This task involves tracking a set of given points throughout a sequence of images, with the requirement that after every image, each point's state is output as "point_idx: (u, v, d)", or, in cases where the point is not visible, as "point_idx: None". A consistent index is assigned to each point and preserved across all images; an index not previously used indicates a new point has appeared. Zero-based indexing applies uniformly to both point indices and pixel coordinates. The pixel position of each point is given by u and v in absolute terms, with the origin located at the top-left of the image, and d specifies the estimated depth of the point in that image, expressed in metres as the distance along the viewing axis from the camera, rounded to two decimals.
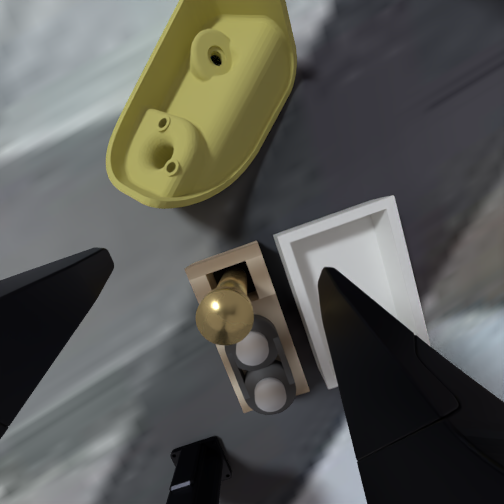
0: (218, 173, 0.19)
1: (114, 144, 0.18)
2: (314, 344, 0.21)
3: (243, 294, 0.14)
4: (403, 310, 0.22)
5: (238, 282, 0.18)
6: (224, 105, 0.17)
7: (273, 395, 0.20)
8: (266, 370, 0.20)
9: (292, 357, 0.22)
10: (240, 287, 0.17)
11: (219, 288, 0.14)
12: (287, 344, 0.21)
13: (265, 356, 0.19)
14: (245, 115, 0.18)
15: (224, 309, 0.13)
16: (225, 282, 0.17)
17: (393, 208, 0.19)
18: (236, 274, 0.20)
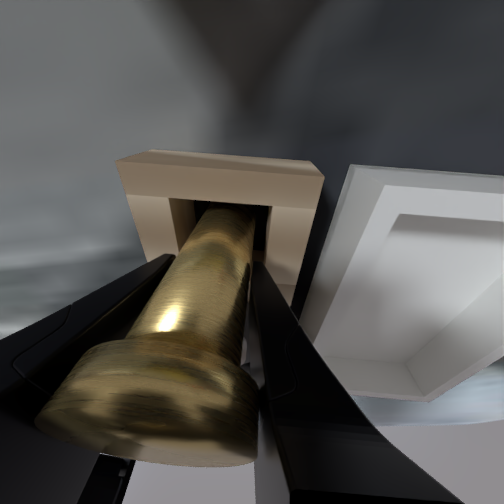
0: None
1: None
2: None
3: (247, 401, 0.04)
4: (441, 355, 0.15)
5: (239, 266, 0.07)
6: None
7: None
8: None
9: None
10: (240, 294, 0.06)
11: (158, 363, 0.03)
12: None
13: None
14: None
15: (157, 439, 0.03)
16: (205, 263, 0.06)
17: None
18: (239, 228, 0.08)
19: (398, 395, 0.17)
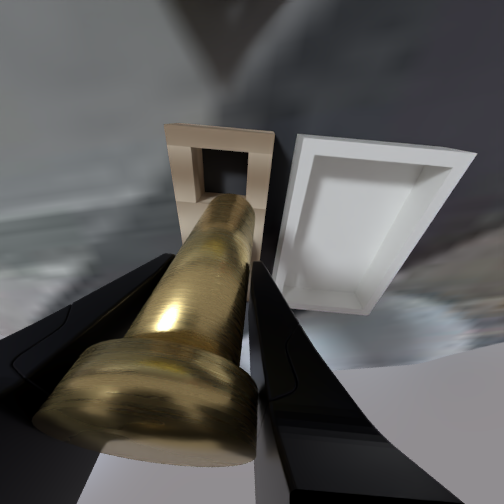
0: None
1: None
2: (278, 271, 0.21)
3: (246, 400, 0.04)
4: (372, 276, 0.22)
5: (238, 265, 0.07)
6: None
7: None
8: None
9: None
10: (239, 294, 0.06)
11: (157, 363, 0.03)
12: None
13: None
14: None
15: (156, 438, 0.03)
16: (204, 262, 0.06)
17: (459, 171, 0.14)
18: (239, 227, 0.08)
19: (345, 309, 0.23)
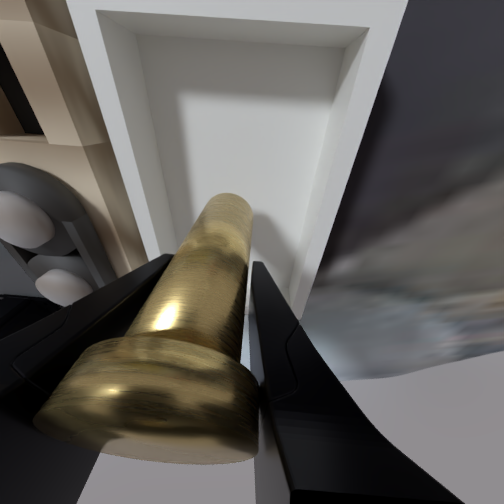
0: None
1: None
2: (149, 255, 0.14)
3: (247, 396, 0.04)
4: (298, 262, 0.15)
5: (237, 264, 0.07)
6: None
7: (64, 292, 0.14)
8: (59, 260, 0.13)
9: (119, 259, 0.15)
10: (239, 292, 0.06)
11: (159, 360, 0.03)
12: (111, 240, 0.14)
13: (38, 241, 0.11)
14: None
15: (158, 436, 0.03)
16: (203, 261, 0.06)
17: (384, 38, 0.07)
18: (237, 226, 0.08)
19: None
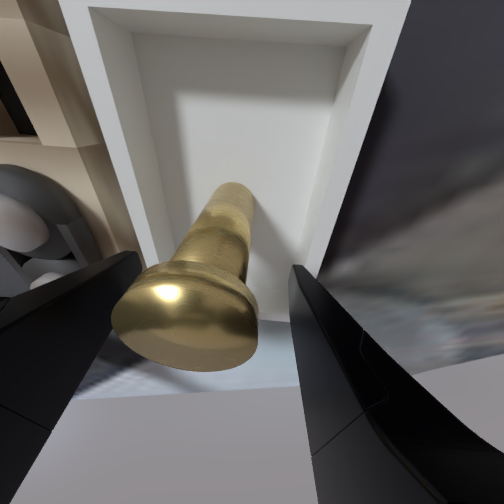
0: None
1: None
2: (146, 258, 0.13)
3: (250, 304, 0.05)
4: None
5: (242, 233, 0.08)
6: None
7: None
8: (54, 264, 0.13)
9: None
10: (243, 252, 0.08)
11: (194, 271, 0.05)
12: (107, 243, 0.14)
13: (32, 245, 0.11)
14: None
15: (191, 325, 0.05)
16: (216, 227, 0.08)
17: (387, 36, 0.07)
18: (241, 207, 0.10)
19: (265, 314, 0.16)
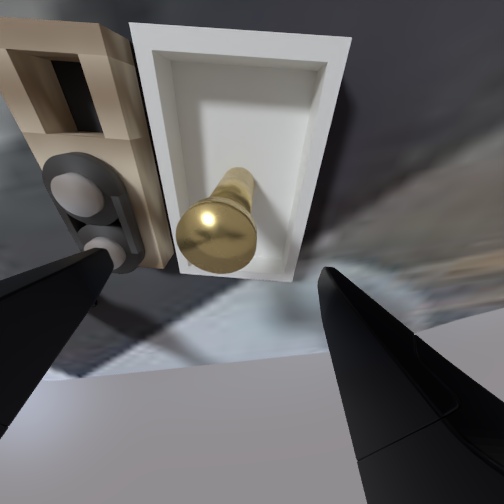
0: None
1: None
2: (172, 226, 0.18)
3: (252, 222, 0.09)
4: (289, 233, 0.19)
5: (246, 195, 0.13)
6: None
7: None
8: (103, 229, 0.17)
9: (147, 230, 0.19)
10: (247, 205, 0.12)
11: (222, 200, 0.09)
12: (142, 214, 0.18)
13: (93, 211, 0.15)
14: None
15: (220, 232, 0.09)
16: (230, 189, 0.12)
17: (337, 68, 0.11)
18: (245, 181, 0.14)
19: (263, 274, 0.20)
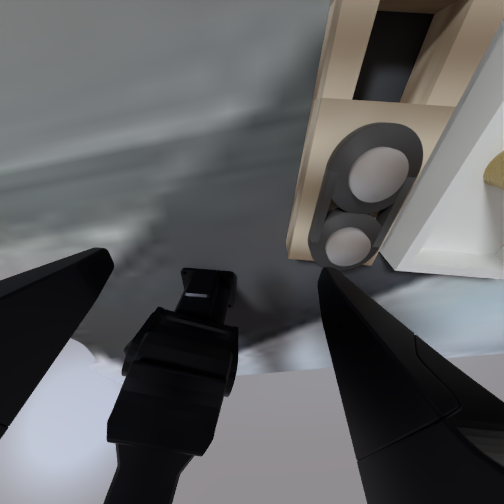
0: None
1: None
2: (431, 215, 0.15)
3: None
4: None
5: None
6: None
7: (354, 248, 0.15)
8: (361, 218, 0.14)
9: None
10: None
11: None
12: None
13: (387, 195, 0.13)
14: None
15: None
16: None
17: None
18: None
19: (498, 271, 0.18)
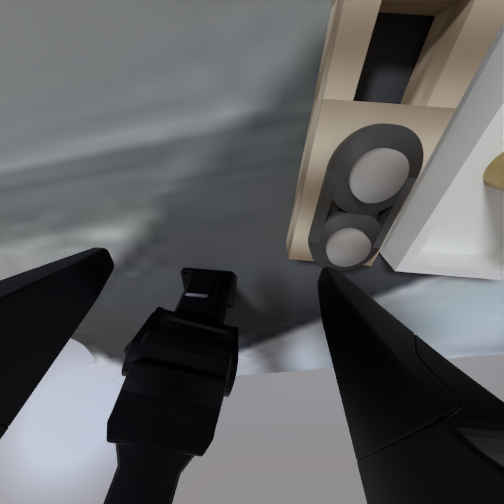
0: None
1: None
2: (431, 215, 0.15)
3: None
4: None
5: None
6: None
7: (354, 249, 0.15)
8: (362, 219, 0.15)
9: None
10: None
11: None
12: None
13: (388, 195, 0.13)
14: None
15: None
16: None
17: None
18: None
19: (497, 272, 0.18)
